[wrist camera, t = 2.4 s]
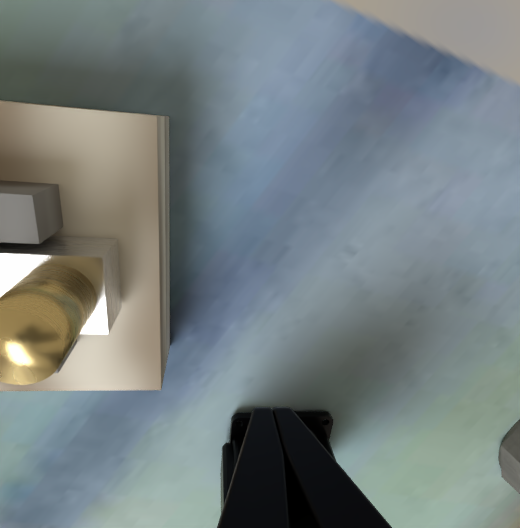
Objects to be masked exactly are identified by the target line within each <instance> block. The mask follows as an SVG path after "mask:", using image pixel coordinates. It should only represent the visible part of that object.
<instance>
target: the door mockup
mask: <svg viewBox="0 0 520 528" xmlns="http://www.w3.org/2000/svg"><path fill="white" fill-rule="evenodd" d="M51 235H52V236H73V237H93V238H113V239H118V250H119V267H120V284H121V300H122V308H121V310H120V312H119V314H118V316H117V318H116V320H115V322H114V324H113V326H112V328H111V330H110V333H109V334H79V336H78V337H77V339H76V340H75V342H74V344H73V345H72V347H71V348H70V350H69V352H68V353H67V355H66V356H65V358H64V359H63V361H62V363H61V364H60V366H59V367H58V369H57V370H56V371H55V372H54V373H53V374H52V375H51V376H50V377H48V378H47V379H45V380H43V381H40V382H37V383H34V384H27V385H14V384H8V383H4V382H0V391H88V390H161V388H162V383H163V378H164V373H165V368H166V363H167V358H168V354H169V349H170V221H169V116H160V115H149V114H139V113H128V112H118V111H108V110H97V109H87V108H76V107H66V106H55V105H45V104H34V103H24V102H14V101H3V100H0V242H4V243H26V244H40V243H42V242H43V241H44V240H46V239H47V238H49V237H50V236H51Z"/></svg>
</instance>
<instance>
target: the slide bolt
mask: <svg viewBox="0 0 520 528" xmlns="http://www.w3.org/2000/svg"><path fill="white" fill-rule="evenodd" d="M121 308H122V300H121V284H120V267H119V250H118V239H113V238H93V237H73V236H52V235H51V236H50V237H49V238H47V239H46V240H44V241H43V242H42V243H40V244H26V243H4V242H0V382H4V383H8V384H14V385H27V384H34V383H37V382H40V381H43V380H45V379H47V378H48V377H50V376H51V375H52V374H53V373H54V372H55V371H56V370H57V369H58V367H59V366H60V364H61V363H62V361H63V359H64V358H65V356H66V355H67V353H68V352H69V350H70V348H71V347H72V345H73V344H74V342H75V340H76V339H77V337H78V336H79V334H109V333H110V330H111V328H112V326H113V324H114V322H115V320H116V318H117V316H118V314H119V312H120V310H121Z"/></svg>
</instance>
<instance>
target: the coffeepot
mask: <svg viewBox="0 0 520 528" xmlns="http://www.w3.org/2000/svg"><path fill="white" fill-rule="evenodd" d="M498 458H499V464H500V467H501V471H502V477H503V478H504V479H505V480H506V481H507V482H508V483H509V484H510V485H511V486H512V487H513V488H514V489H515V490H516V491H517V492H518V493H519V494H520V420H519V421H518V422H517V423H516V424H515V425H514V426H513V427H512V428H511V429H510V431H509V432H508V433H507V435H506V436H505V438H504V440H503V441H502V444H501V447H500V449H499V457H498Z"/></svg>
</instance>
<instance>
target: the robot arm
mask: <svg viewBox="0 0 520 528" xmlns="http://www.w3.org/2000/svg"><path fill="white" fill-rule="evenodd" d="M325 419H326V420H325ZM323 420H324V421H323ZM238 421H241V422H238ZM332 425H333V419H332V416H331V414H330V413H329V412H294V411H293V410H292V409H291V408H290V407H274V408H273V409H271V408H270V407H256V408H254V409H253V412H252V413H237V414H235V415H233V416H232V418H231V428H230V441H229V443H225V444H224V445H223V447H222V461H221V516H220V520H219V523H218V526H217V528H392V527H391V526H390V525H389V523H388V522H387V521H386V520H385V519H384V518H383V516H382V515H381V514H380V513H379V512H378V510H377V509H376V508H375V507H374V506H373V504H372V503H371V502H370V501H369V500H368V499H367V497H366V496H365V495H364V494H363V493H362V491H361V490H360V489H359V488H358V487H357V486H356V484H355V483H354V482H353V481H352V480H351V478H350V477H349V476H348V475H347V474H346V473H345V471H344V470H343V469H342V468H341V467H340V465H339V464H338V463H337V462H336V459H335V457H334V454H333V451H332V448H331V445H330V442H329V438H330V434H331V429H332Z"/></svg>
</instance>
